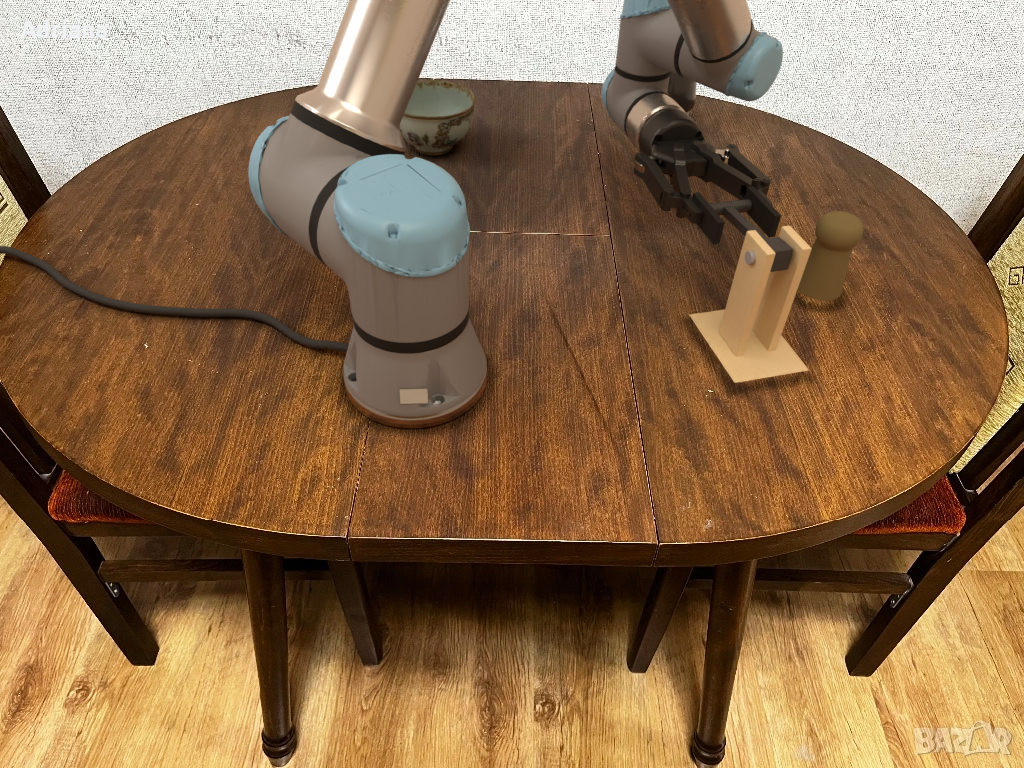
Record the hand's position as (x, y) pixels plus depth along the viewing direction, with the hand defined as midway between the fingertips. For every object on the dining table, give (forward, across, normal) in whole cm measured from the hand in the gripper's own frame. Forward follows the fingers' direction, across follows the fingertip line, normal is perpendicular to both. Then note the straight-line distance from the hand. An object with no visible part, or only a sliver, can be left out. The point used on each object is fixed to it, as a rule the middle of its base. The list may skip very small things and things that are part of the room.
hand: (747, 229), depth 83 cm
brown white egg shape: (-52, -13, -12) cm, 55 cm away
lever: (+1, 0, -1) cm, 1 cm away
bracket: (+6, 0, -12) cm, 14 cm away
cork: (-2, -14, -12) cm, 19 cm away
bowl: (-50, +26, -13) cm, 58 cm away
